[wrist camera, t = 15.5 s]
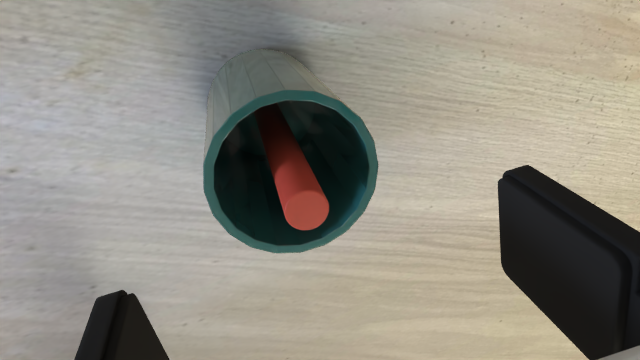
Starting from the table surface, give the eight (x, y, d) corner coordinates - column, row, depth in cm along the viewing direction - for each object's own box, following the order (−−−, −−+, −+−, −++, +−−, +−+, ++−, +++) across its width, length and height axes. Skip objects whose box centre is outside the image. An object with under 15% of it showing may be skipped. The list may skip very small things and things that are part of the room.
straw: (250, 101, 28) (279, 197, 15) (275, 94, 28) (324, 184, 16) (257, 125, 29) (290, 236, 16) (282, 118, 29) (333, 223, 16)
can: (192, 65, 27) (176, 119, 16) (304, 35, 28) (361, 68, 17) (227, 169, 30) (234, 273, 19) (328, 140, 31) (389, 225, 20)
